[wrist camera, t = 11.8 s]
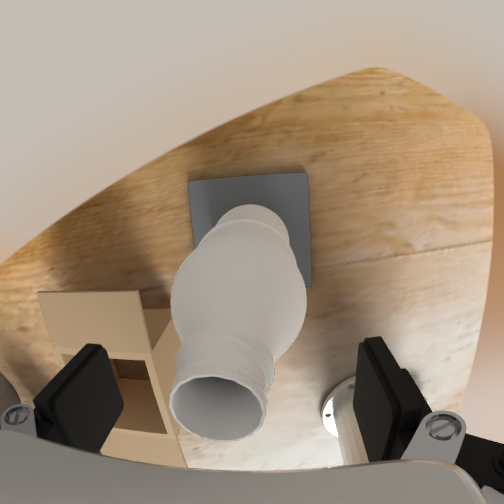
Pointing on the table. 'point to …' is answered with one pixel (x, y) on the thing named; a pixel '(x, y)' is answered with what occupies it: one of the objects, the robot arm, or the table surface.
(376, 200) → the table surface
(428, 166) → the table surface
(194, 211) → the slate mat
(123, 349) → the carton
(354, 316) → the table surface
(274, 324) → the water bottle
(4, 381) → the pillar candle
